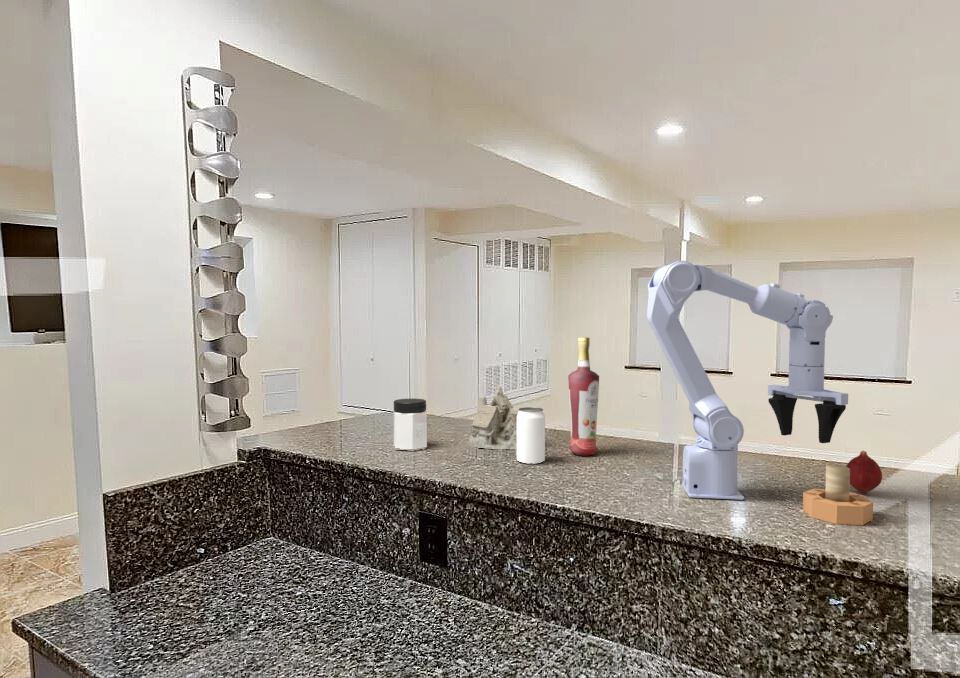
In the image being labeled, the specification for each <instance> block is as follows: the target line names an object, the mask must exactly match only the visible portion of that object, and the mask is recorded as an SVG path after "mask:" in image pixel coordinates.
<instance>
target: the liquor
mask: <svg viewBox="0 0 960 678" xmlns="http://www.w3.org/2000/svg"><path fill="white" fill-rule="evenodd" d="M577 341H578V342H577V343H578V344H577V346H578V350H579V351H578V363H577V369H576V370H574V371H572V372H571V373H570V374H568V377H567V378H568V399H569V401H568V402H569V419H570V420H569V421H570V423H569V424H570V426H569V427H570V445H569V446H568V449H569V450H570V451H571V453H572V454H573V455H575V454H576V455H575V456H578V455H580V456H579V457H591V456H594V454H595V453H596V452H597V451H598V450H599V448H598V447H597V426H598V425H597V424H598V408H599V407H598V406H599V394H600V393H599V390H600V389H599V388H600V375H599V374H597V372H595V371H593V370H592V369H591V364H590V362H591V360H590V351H589V350H590V346H591V345H590V344H591V343H590V337H584V336H583V337H578V338H577ZM590 455H591V456H590Z"/></svg>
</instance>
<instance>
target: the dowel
mask: <svg viewBox="0 0 960 678" xmlns="http://www.w3.org/2000/svg"><path fill="white" fill-rule="evenodd" d="M850 486H851V485H850V468H848V467H846V465H845V466H843V465H838V464H837V465H836V464H828V465H826V466H825V488H824V489H825V499H828V500H832V501H836V502H849V492H850V488H851V487H850Z"/></svg>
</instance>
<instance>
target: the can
mask: <svg viewBox="0 0 960 678" xmlns="http://www.w3.org/2000/svg"><path fill="white" fill-rule="evenodd" d="M518 409H519V412H518V414H517V450H516V461H517V462H518V461H519V462H522V463H541V462H543V461H544V462H545V461H546V456H545V455H546V416H545V413H544V409H543V408H541V407H534V406H533V407H532V406H529V407H528V406H527V407H519V408H518ZM519 462H518V463H519ZM544 462H543V463H544ZM522 463H521V464H522ZM541 464H542V463H541Z"/></svg>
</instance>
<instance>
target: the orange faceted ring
mask: <svg viewBox="0 0 960 678" xmlns="http://www.w3.org/2000/svg"><path fill="white" fill-rule="evenodd" d="M802 495H803V496H802V511H804V513H806V515H808V516H809V517H810V518H812V519H815V520H820V521H824V522H828V523H831V524H835V525H847V524H848V526H865V525H866V524H865V523H867V522H869V521H871V520H873V519H874V501H873V500H870V498H867V497H866V496H865V495H864V494H859V493H855V492H854V493H853V492H850V491H849V502H836V501H832V500H828V499H825V488H812V489H809V490H806V491H803V493H802ZM871 522H872V521H871ZM869 523H870V522H869ZM849 524H850V525H849ZM864 524H865V525H864ZM867 524H868V523H867Z"/></svg>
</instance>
